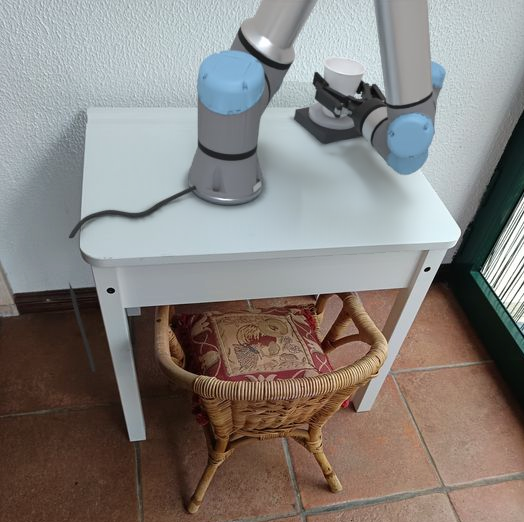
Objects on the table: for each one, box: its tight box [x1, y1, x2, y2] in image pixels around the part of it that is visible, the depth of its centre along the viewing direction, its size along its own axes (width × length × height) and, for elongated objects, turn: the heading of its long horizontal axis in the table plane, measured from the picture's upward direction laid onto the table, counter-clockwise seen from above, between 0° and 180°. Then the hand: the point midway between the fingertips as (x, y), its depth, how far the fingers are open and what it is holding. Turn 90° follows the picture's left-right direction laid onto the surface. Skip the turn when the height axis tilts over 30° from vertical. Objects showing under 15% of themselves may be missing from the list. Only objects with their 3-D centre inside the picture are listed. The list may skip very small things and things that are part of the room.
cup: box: [322, 56, 367, 118], centre depth 116 cm, size 10×10×11 cm
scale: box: [293, 101, 363, 145], centre depth 122 cm, size 14×13×3 cm
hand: (331, 77), depth 118 cm, fingers closed on cup, 8 cm apart
